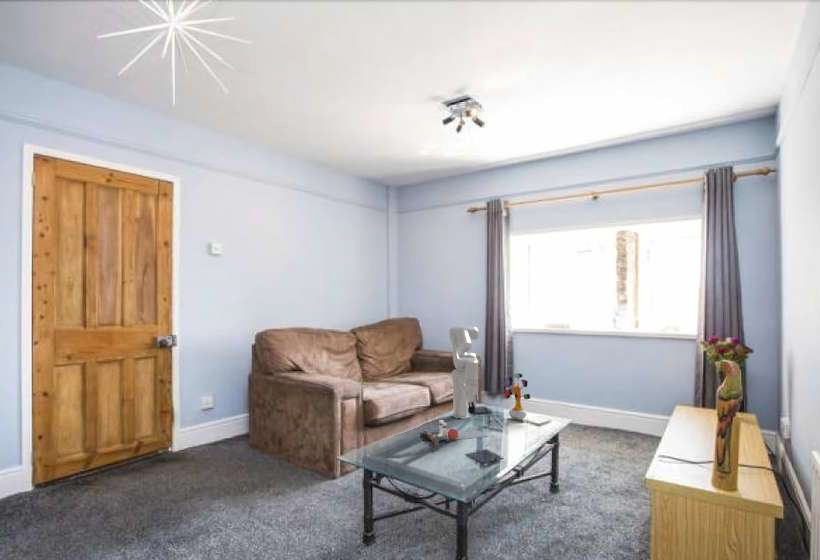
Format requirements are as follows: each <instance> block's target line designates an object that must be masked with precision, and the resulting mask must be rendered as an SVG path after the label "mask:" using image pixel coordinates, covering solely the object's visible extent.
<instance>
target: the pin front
mask: <svg viewBox="0 0 820 560" xmlns="http://www.w3.org/2000/svg"><path fill="white" fill-rule="evenodd" d="M432 435H433V436H435V437H436V438H438V437H442V434H439V433H437V434H436V433H435V434H432ZM447 437H448V432H447Z"/></svg>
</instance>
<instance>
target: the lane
mask: <svg viewBox="0 0 820 560" xmlns="http://www.w3.org/2000/svg"><path fill="white" fill-rule="evenodd" d="M485 437H487V438H488V435H487V434H485V433H484V432H482V431H481V430H472V431H461V432H460V431H459V432H458V437H457V438H456V439H455V440H454V441H457V440H467V439H475V438H485ZM449 441H450V442H451V441H452V440H451V439H450V438H449V437H448V439H447V440H446V441H445V442H449Z"/></svg>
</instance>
